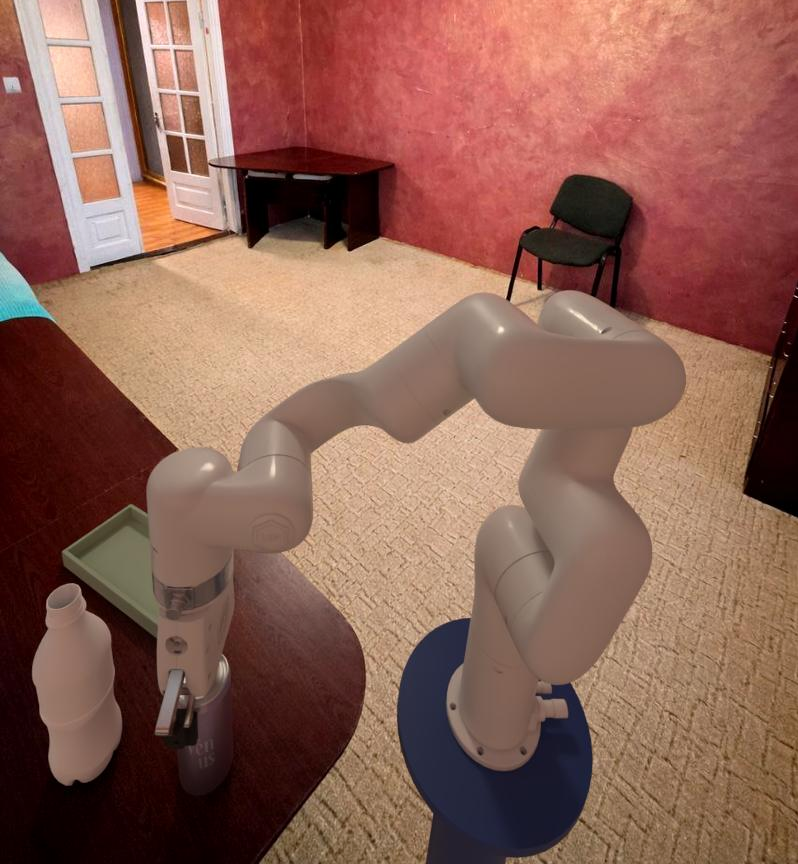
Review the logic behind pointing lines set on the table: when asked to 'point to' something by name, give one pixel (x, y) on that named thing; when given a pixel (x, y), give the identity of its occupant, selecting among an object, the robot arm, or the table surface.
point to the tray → (119, 565)
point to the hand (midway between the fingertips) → (198, 687)
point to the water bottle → (76, 688)
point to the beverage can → (209, 737)
